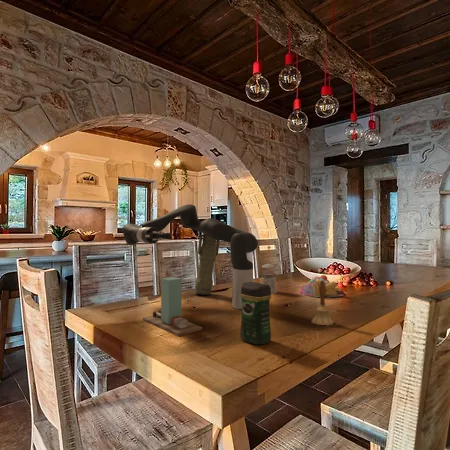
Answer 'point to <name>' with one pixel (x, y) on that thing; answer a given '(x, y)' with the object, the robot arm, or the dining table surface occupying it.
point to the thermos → (206, 264)
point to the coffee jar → (255, 313)
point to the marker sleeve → (171, 298)
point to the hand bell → (322, 308)
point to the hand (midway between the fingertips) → (169, 236)
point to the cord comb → (173, 324)
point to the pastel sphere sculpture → (313, 288)
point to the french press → (269, 277)
